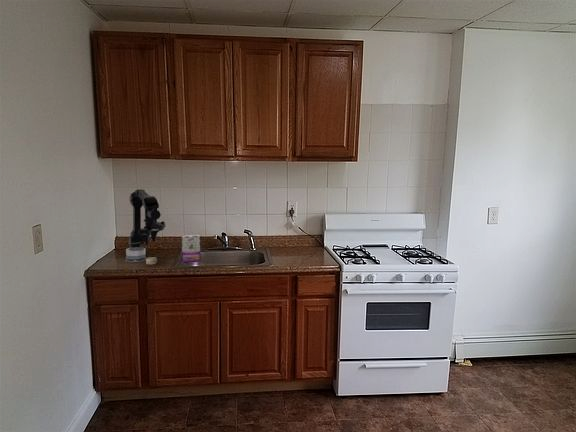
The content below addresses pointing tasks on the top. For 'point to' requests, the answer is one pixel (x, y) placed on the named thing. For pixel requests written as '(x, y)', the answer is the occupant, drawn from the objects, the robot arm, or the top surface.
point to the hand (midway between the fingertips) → (150, 243)
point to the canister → (135, 254)
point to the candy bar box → (191, 248)
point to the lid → (151, 260)
